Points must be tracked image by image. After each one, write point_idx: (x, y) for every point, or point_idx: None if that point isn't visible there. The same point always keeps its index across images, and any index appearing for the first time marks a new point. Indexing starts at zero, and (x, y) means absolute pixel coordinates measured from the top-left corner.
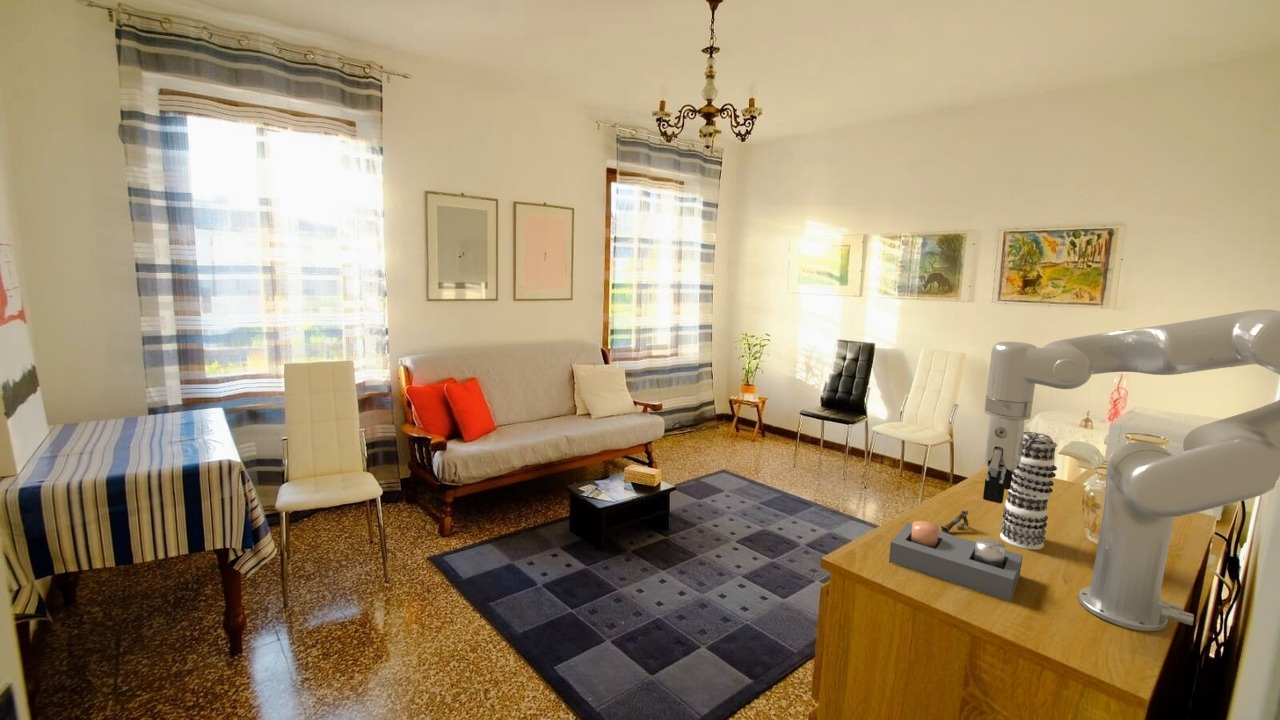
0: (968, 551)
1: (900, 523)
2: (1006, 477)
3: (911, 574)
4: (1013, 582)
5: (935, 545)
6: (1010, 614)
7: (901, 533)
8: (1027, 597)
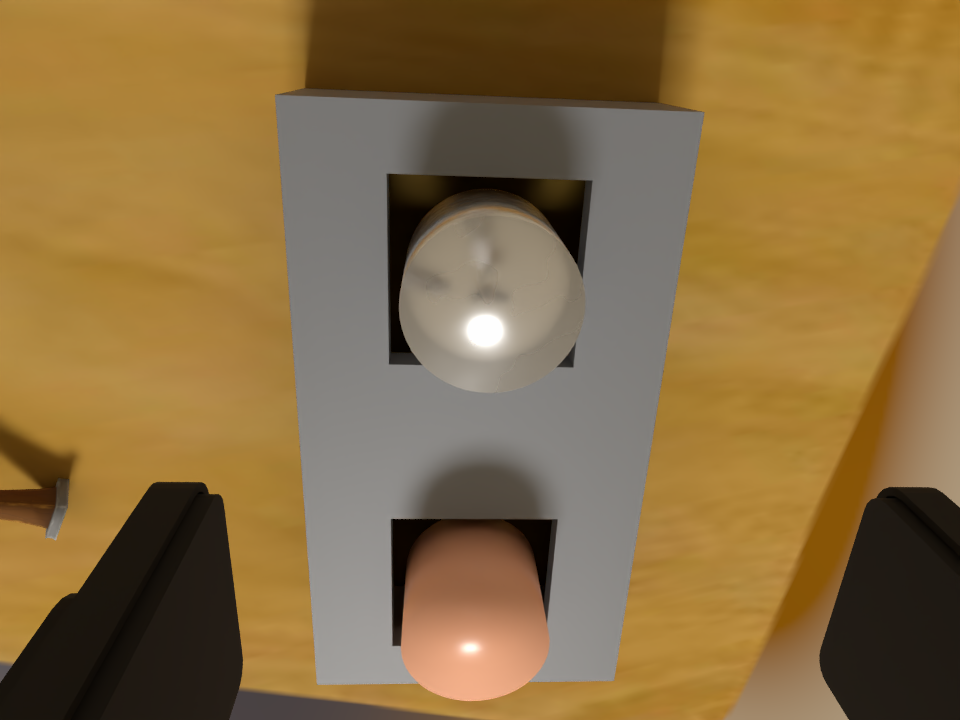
0: None
1: None
2: (149, 701)
3: (648, 511)
4: (660, 108)
5: (493, 527)
6: (791, 87)
7: None
8: (551, 24)
